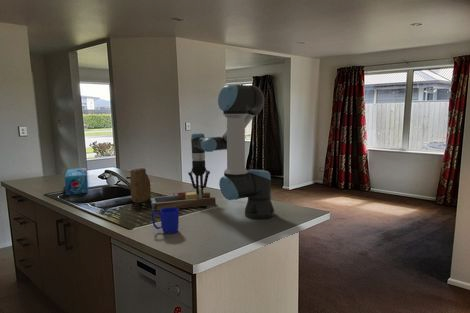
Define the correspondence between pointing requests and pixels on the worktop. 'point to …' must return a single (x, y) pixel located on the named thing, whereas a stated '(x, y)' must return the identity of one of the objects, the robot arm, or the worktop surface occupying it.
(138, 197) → the block
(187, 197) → the cube
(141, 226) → the worktop surface
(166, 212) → the mug
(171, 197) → the channel
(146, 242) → the worktop surface
